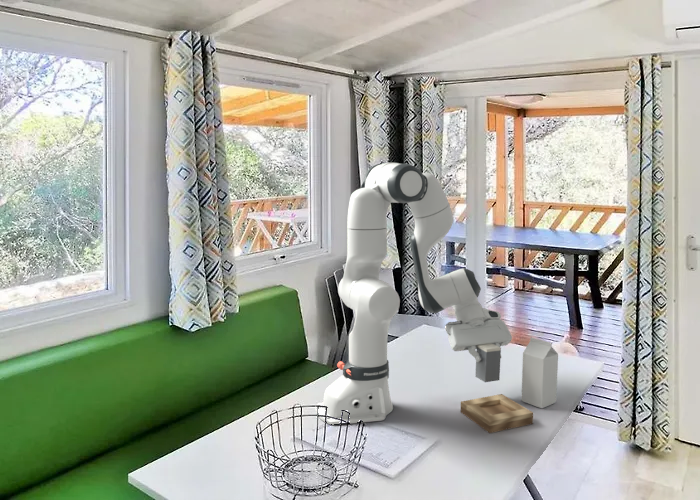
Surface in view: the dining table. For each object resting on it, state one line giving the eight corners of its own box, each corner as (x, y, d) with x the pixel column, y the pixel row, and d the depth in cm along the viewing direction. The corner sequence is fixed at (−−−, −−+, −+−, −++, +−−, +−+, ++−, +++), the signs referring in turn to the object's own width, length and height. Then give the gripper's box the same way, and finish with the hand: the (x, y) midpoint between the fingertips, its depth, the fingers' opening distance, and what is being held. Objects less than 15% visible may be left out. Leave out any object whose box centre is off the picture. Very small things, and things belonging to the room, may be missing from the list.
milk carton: (541, 409, 165) (544, 345, 162) (521, 401, 170) (523, 339, 167) (556, 403, 169) (558, 340, 166) (535, 395, 174) (538, 335, 172)
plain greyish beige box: (485, 382, 168) (486, 349, 167) (475, 376, 173) (476, 344, 171) (499, 380, 170) (501, 347, 169) (489, 374, 174) (490, 342, 173)
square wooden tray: (489, 433, 150) (489, 421, 150) (460, 412, 163) (460, 401, 163) (532, 423, 155) (533, 412, 155) (501, 404, 168) (501, 393, 168)
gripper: (447, 317, 171) (463, 358, 164) (503, 312, 179) (522, 351, 171) (439, 328, 176) (455, 368, 168) (494, 322, 184) (512, 361, 176)
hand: (489, 359), depth 170 cm, fingers closed on plain greyish beige box, 5 cm apart
